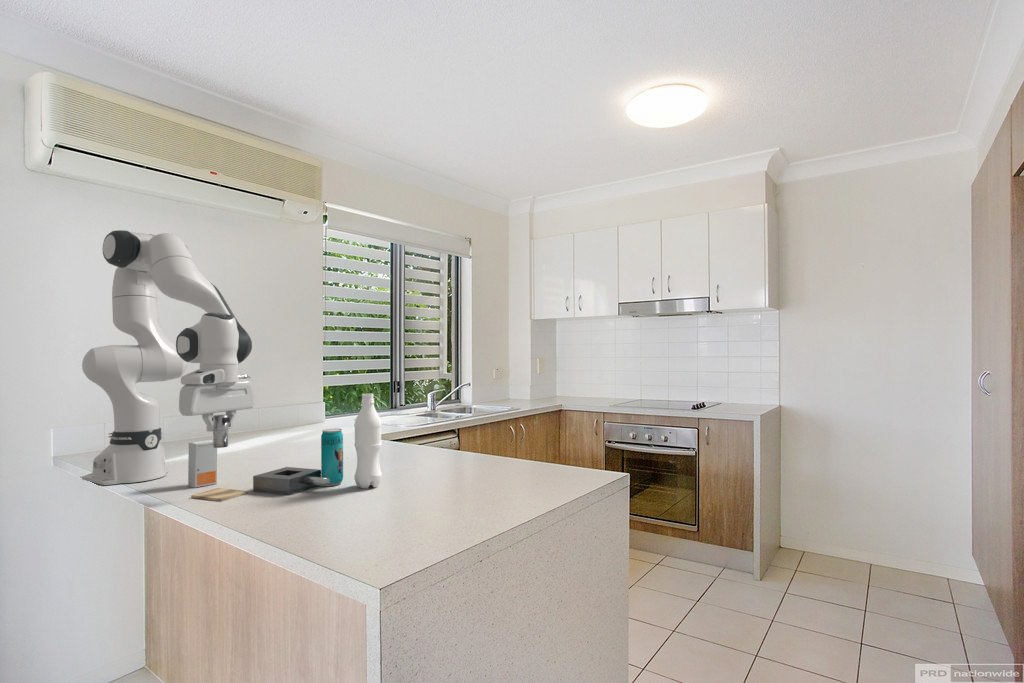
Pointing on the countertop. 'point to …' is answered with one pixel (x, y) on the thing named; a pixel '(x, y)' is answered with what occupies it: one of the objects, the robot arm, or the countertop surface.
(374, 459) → the water bottle
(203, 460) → the skincare box
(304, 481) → the grey handled square frame
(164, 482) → the countertop surface
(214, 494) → the pad
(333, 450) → the beverage can
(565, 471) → the countertop surface
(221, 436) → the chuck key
